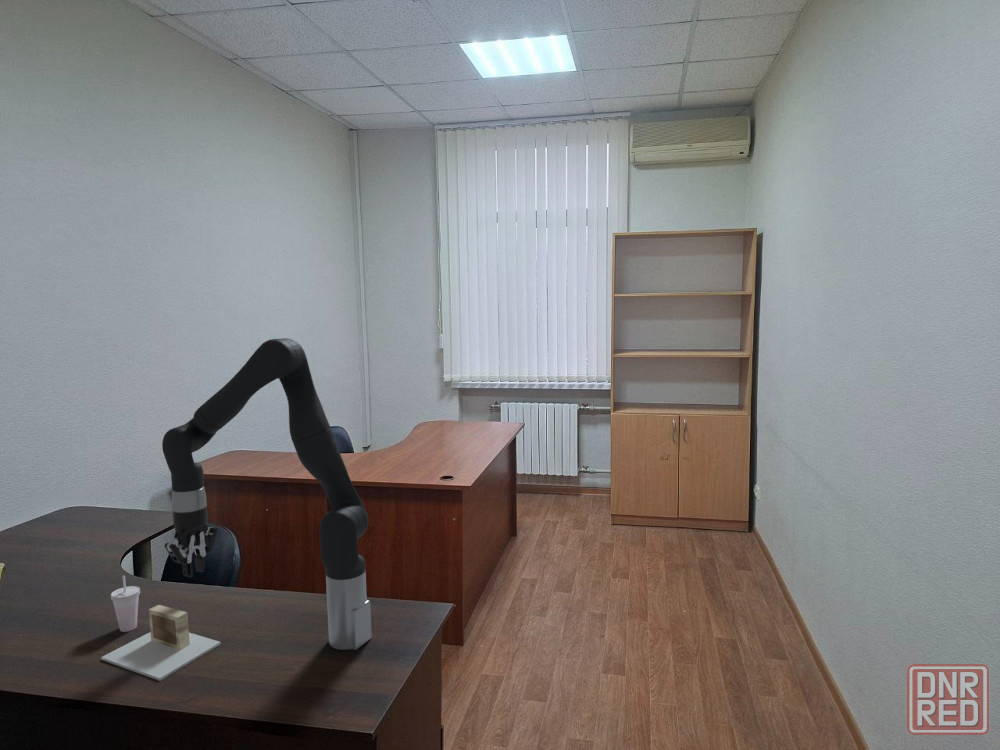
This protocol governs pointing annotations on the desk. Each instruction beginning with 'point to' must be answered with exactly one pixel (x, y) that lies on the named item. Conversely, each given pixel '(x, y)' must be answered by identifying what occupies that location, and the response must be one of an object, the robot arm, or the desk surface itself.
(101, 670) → the desk surface
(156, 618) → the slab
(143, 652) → the mat
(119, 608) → the smoothie
